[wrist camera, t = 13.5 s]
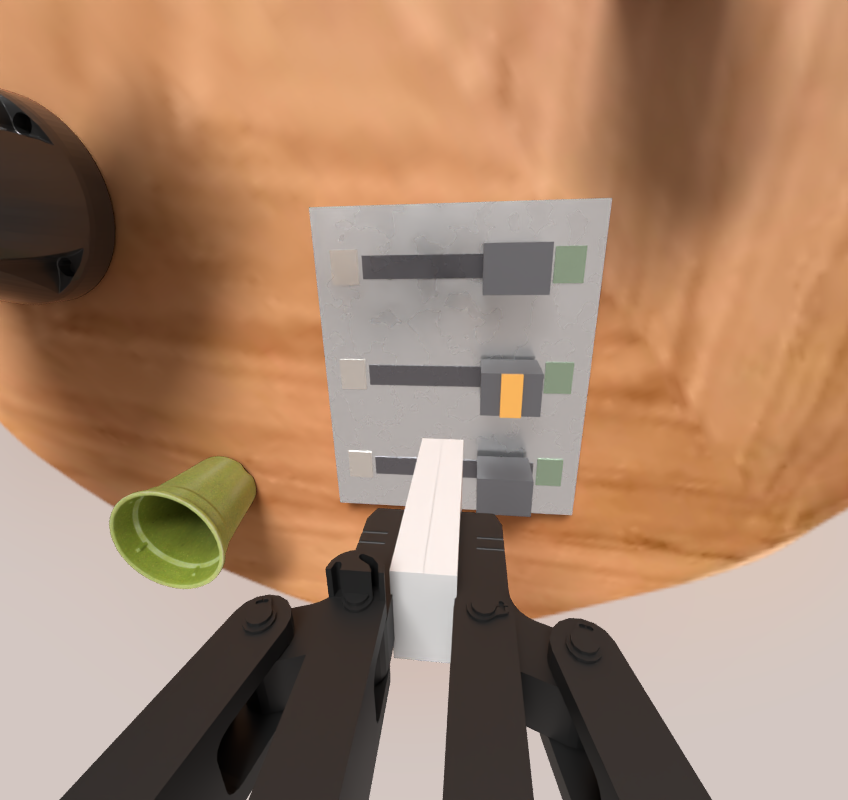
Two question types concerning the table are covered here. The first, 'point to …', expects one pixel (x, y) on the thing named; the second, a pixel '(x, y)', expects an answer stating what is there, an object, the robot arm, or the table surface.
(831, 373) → the table surface
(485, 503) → the block
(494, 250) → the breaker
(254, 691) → the robot arm
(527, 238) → the panel
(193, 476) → the plant pot
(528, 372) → the breaker
